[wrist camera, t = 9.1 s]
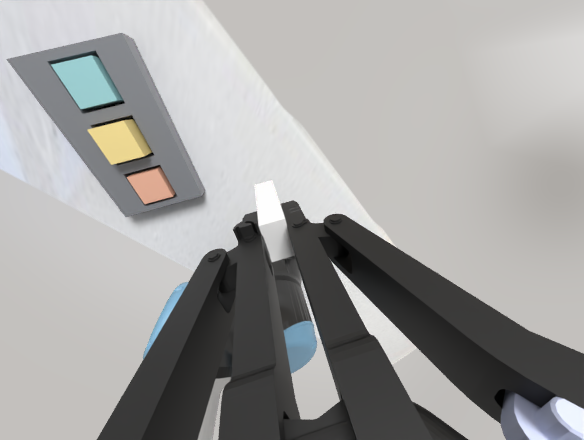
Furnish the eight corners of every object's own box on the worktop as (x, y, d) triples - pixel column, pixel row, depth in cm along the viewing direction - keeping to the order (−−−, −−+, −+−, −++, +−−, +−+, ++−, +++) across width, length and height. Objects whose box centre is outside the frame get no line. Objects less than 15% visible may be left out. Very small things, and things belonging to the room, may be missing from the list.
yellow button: (152, 152, 34) (144, 156, 31) (121, 160, 33) (111, 164, 31) (133, 119, 31) (123, 120, 29) (100, 127, 31) (87, 129, 28)
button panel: (205, 189, 40) (202, 195, 38) (133, 209, 40) (125, 217, 37) (133, 39, 28) (122, 32, 26) (28, 63, 28) (6, 59, 25)
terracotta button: (177, 190, 39) (172, 196, 36) (151, 197, 39) (144, 204, 36) (163, 164, 36) (157, 169, 34) (135, 172, 36) (126, 177, 33)
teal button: (127, 100, 31) (117, 100, 29) (94, 108, 31) (80, 109, 28) (105, 59, 28) (91, 55, 26) (68, 68, 28) (50, 64, 26)
